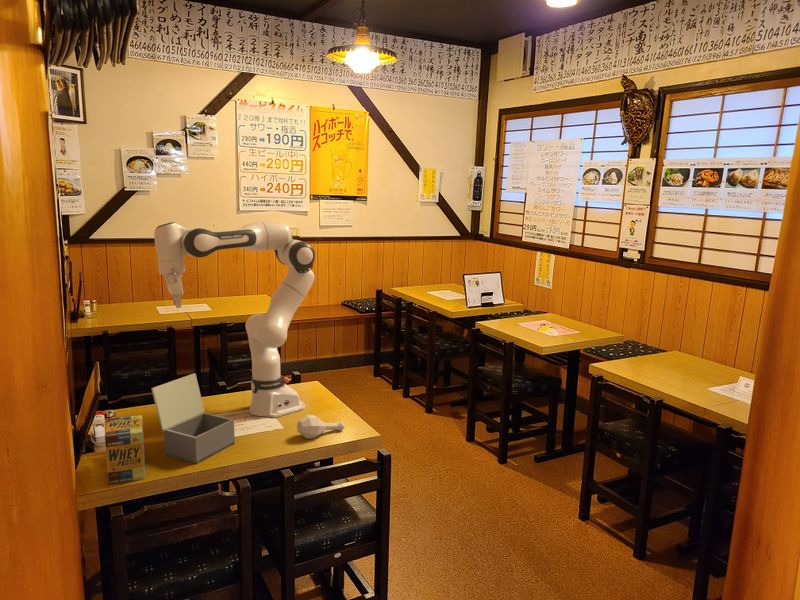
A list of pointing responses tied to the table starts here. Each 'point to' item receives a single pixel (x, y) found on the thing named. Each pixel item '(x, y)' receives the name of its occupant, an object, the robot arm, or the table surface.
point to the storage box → (199, 437)
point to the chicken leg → (316, 426)
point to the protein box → (125, 449)
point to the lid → (177, 400)
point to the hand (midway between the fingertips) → (177, 306)
